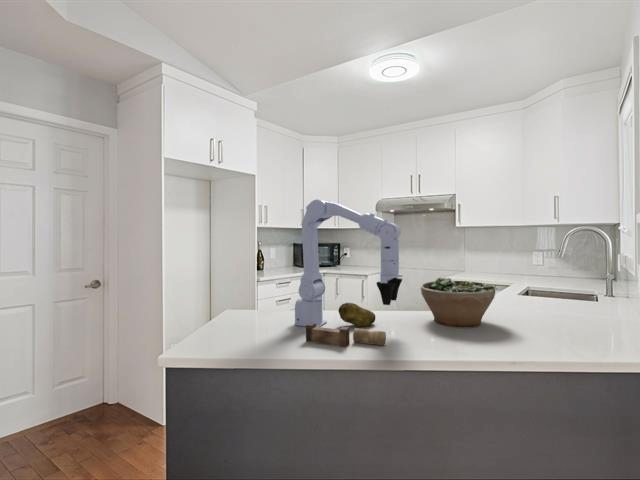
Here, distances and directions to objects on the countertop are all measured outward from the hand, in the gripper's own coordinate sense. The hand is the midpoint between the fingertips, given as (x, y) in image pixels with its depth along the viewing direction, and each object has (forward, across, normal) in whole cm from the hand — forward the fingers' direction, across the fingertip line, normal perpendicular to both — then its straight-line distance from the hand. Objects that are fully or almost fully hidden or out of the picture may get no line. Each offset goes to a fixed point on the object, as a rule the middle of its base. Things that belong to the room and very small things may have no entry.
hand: (389, 302), depth 120 cm
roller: (+10, -12, +3) cm, 16 cm away
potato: (+10, +5, +13) cm, 17 cm away
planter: (+10, +24, -18) cm, 32 cm away
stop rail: (+10, -17, +14) cm, 25 cm away
